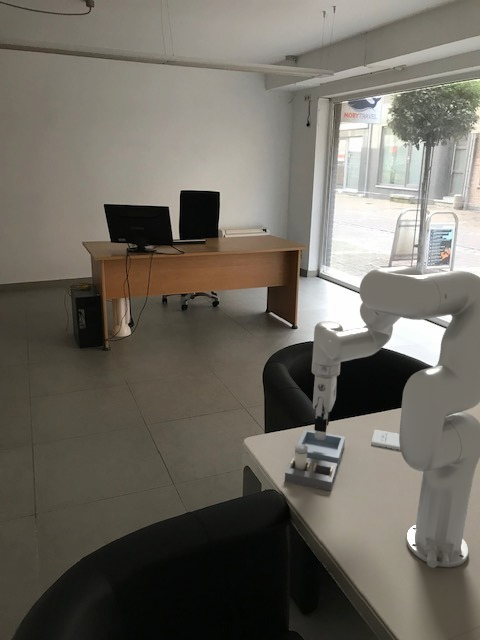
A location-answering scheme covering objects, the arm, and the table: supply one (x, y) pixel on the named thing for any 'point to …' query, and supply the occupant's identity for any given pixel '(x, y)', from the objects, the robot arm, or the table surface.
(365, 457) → the table surface
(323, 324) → the robot arm
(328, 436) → the tray
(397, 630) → the table surface
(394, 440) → the external hard drive
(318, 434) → the marked fuse
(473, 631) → the table surface
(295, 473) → the fuse holder
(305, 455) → the fuse
